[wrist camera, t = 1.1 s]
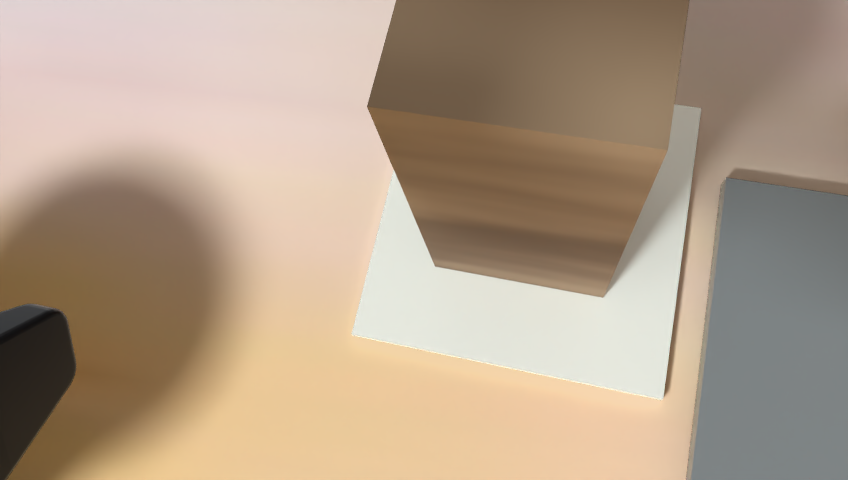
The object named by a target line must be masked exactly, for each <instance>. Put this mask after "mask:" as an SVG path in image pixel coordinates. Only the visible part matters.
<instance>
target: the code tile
mask: <svg viewBox="0 0 848 480" xmlns="http://www.w3.org/2000/svg"><path fill="white" fill-rule="evenodd" d="M700 115H701V108H698V107H690V106H683V105H675V104H674V111H673V118H672V125H671V132H670V139H669V146H668V151H667V153H666V156H665V158H664V160H663V162H662V165H661V167H660V169H659V172H658V174H657V176H656V178H655V181H654V183H653V185H652V188H651V190H650V192H649V194H648V197H647V199H646V201H645V204H644V206H643V208H642V210H641V213H640V215H639V217H638V219H637V222H636V224H635V226H634V229H633V231H632V233H631V235H630V238H629V240H628V242H627V245H626V247H625V249H624V251H623V254H622V256H621V258H620V261H619V263H618V265H617V267H616V270H615V272H614V274H613V277H612V279H611V281H610V283H609V286H608V288H607V290H606V293H605V295H604V297H603V298H602V297H596V296H591V295H586V294H580V293H575V292H569V291H564V290H559V289H553V288H548V287H542V286H537V285H532V284H526V283H521V282H516V281H510V280H505V279H499V278H494V277H489V276H483V275H478V274H472V273H467V272H462V271H456V270H451V269H446V268H440V267H435V265H434V263H433V261H432V258H431V256H430V254H429V251H428V249H427V247H426V244H425V242H424V239H423V237H422V235H421V232H420V230H419V228H418V225H417V223H416V221H415V218H414V216H413V214H412V211H411V209H410V206H409V204H408V202H407V199H406V197H405V195H404V192H403V190H402V188H401V185H400V183H399V181H398V178H397V176H396V173H395V171H393V175H392V179H391V182H390V186H389V190H388V194H387V198H386V202H385V206H384V210H383V214H382V217H381V221H380V225H379V229H378V233H377V237H376V241H375V245H374V249H373V253H372V256H371V260H370V264H369V268H368V272H367V276H366V280H365V284H364V288H363V291H362V295H361V299H360V303H359V307H358V311H357V315H356V319H355V323H354V327H353V330H352V335H353V336H356V337H361V338H366V339H371V340H375V341H380V342H385V343H390V344H395V345H399V346H404V347H409V348H414V349H418V350H423V351H428V352H433V353H438V354H442V355H447V356H452V357H457V358H461V359H466V360H471V361H476V362H481V363H485V364H490V365H495V366H500V367H505V368H509V369H514V370H519V371H524V372H528V373H533V374H538V375H543V376H548V377H552V378H557V379H562V380H567V381H571V382H576V383H581V384H586V385H591V386H595V387H600V388H605V389H610V390H615V391H619V392H624V393H629V394H634V395H638V396H643V397H648V398H653V399H658V400H663V397H664V389H665V381H666V374H667V366H668V358H669V351H670V343H671V336H672V328H673V320H674V313H675V305H676V298H677V290H678V282H679V275H680V267H681V260H682V252H683V244H684V237H685V229H686V222H687V214H688V206H689V199H690V191H691V183H692V176H693V168H694V161H695V153H696V145H697V138H698V130H699V123H700Z"/></svg>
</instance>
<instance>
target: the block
mask: <svg viewBox="0 0 848 480" xmlns="http://www.w3.org/2000/svg"><path fill="white" fill-rule="evenodd" d="M688 6H689V0H396V3H395V7H394V11H393V14H392V18H391V22H390V25H389V29H388V33H387V36H386V40H385V43H384V47H383V51H382V54H381V58H380V62H379V65H378V69H377V73H376V76H375V80H374V83H373V87H372V91H371V94H370V98H369V102H368V105H367V107H368V110H369V112H370V114H371V117H372V119H373V122H374V124H375V126H376V129H377V131H378V133H379V136H380V138H381V140H382V143H383V145H384V147H385V150H386V152H387V155H388V157H389V159H390V162H391V164H392V166H393V169H394V171H395V173H396V176H397V178H398V181H399V183H400V185H401V188H402V190H403V192H404V195H405V197H406V199H407V202H408V204H409V206H410V209H411V211H412V214H413V216H414V218H415V221H416V223H417V225H418V228H419V230H420V232H421V235H422V237H423V239H424V242H425V244H426V247H427V249H428V251H429V254H430V256H431V258H432V261H433V263H434V265H435V267H440V268H446V269H451V270H456V271H462V272H467V273H472V274H478V275H483V276H489V277H494V278H499V279H505V280H510V281H516V282H521V283H526V284H532V285H537V286H542V287H548V288H553V289H559V290H564V291H569V292H575V293H580V294H586V295H591V296H596V297H602V298H603V297H604V295H605V293H606V290H607V288H608V286H609V283H610V281H611V279H612V277H613V274H614V272H615V270H616V267H617V265H618V263H619V261H620V258H621V256H622V254H623V251H624V249H625V247H626V245H627V242H628V240H629V238H630V235H631V233H632V231H633V229H634V226H635V224H636V222H637V219H638V217H639V215H640V213H641V210H642V208H643V206H644V204H645V201H646V199H647V197H648V194H649V192H650V190H651V188H652V185H653V183H654V181H655V178H656V176H657V174H658V172H659V169H660V167H661V165H662V162H663V160H664V158H665V156H666V153H667V151H668V146H669V139H670V132H671V125H672V118H673V111H674V104H675V97H676V90H677V83H678V76H679V69H680V62H681V55H682V48H683V41H684V34H685V27H686V20H687V13H688Z"/></svg>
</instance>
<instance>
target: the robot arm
mask: <svg viewBox="0 0 848 480" xmlns="http://www.w3.org/2000/svg"><path fill="white" fill-rule="evenodd" d="M75 372H76V358H75V353H74V348H73V344H72V339H71V334H70V329H69V324H68V320H67V317H66V316H65V315H64V313H63V312H62V311H60V310H59V309H56V308H51V307H47V306H42V305H38V304H25V305H22V306H18V307H15V308H12V309H9V310H5V311H2V312H0V480H6V479H7V478H8V477H9V475H10V474H11V472H12V471H13V469H14V468H15V467H16V465H17V464H18V462H19V461H20V459H21V458H22V456H23V455H24V453H25V452H26V450H27V449H28V447H29V446H30V444H31V443H32V441H33V440H34V438H35V437H36V435H37V434H38V432H39V431H40V429H41V428H42V426H43V425H44V423H45V422H46V420H47V419H48V417H49V416H50V414H51V413H52V412H53V410H54V409H55V407H56V406H57V404H58V403H59V401H60V400H61V398H62V397H63V395H64V394H65V392H66V391H67V389H68V388H69V386H70V385H71V383H72V381H73V378H74V376H75Z"/></svg>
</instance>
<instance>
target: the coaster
mask: <svg viewBox="0 0 848 480" xmlns="http://www.w3.org/2000/svg"><path fill="white" fill-rule="evenodd" d="M686 480H848V196H846V195H839V194H833V193H826V192H819V191H813V190H806V189H799V188H793V187H786V186H779V185H773V184H766V183H759V182H753V181H746V180H739V179H733V178H726V179H725V180H724V182H723V183H722V185H721V190H720V198H719V207H718V215H717V223H716V232H715V240H714V249H713V257H712V265H711V274H710V282H709V291H708V299H707V307H706V316H705V324H704V333H703V341H702V349H701V358H700V366H699V375H698V383H697V391H696V400H695V408H694V417H693V425H692V433H691V442H690V450H689V459H688V467H687V475H686Z"/></svg>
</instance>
